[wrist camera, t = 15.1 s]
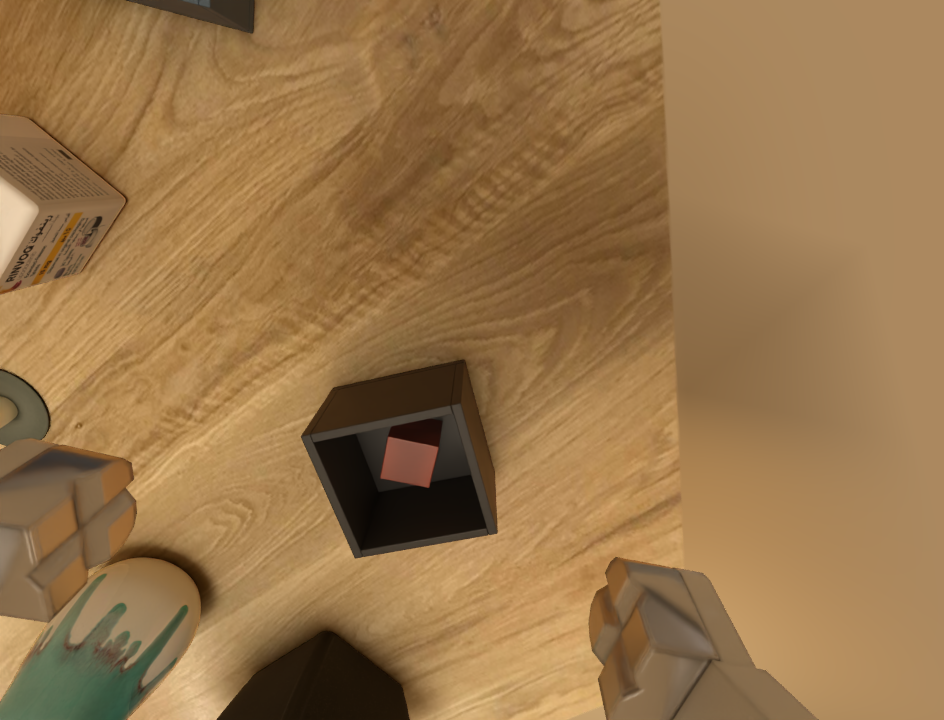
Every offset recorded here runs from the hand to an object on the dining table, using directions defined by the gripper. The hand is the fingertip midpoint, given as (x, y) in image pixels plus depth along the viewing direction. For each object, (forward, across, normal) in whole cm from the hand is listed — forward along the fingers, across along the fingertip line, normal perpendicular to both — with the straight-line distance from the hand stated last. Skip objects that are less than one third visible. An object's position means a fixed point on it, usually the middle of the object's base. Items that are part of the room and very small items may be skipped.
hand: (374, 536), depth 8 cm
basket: (+28, +1, +16) cm, 33 cm away
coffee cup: (+28, +36, +22) cm, 50 cm away
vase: (+28, +24, +40) cm, 54 cm away
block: (+28, +1, +16) cm, 32 cm away
